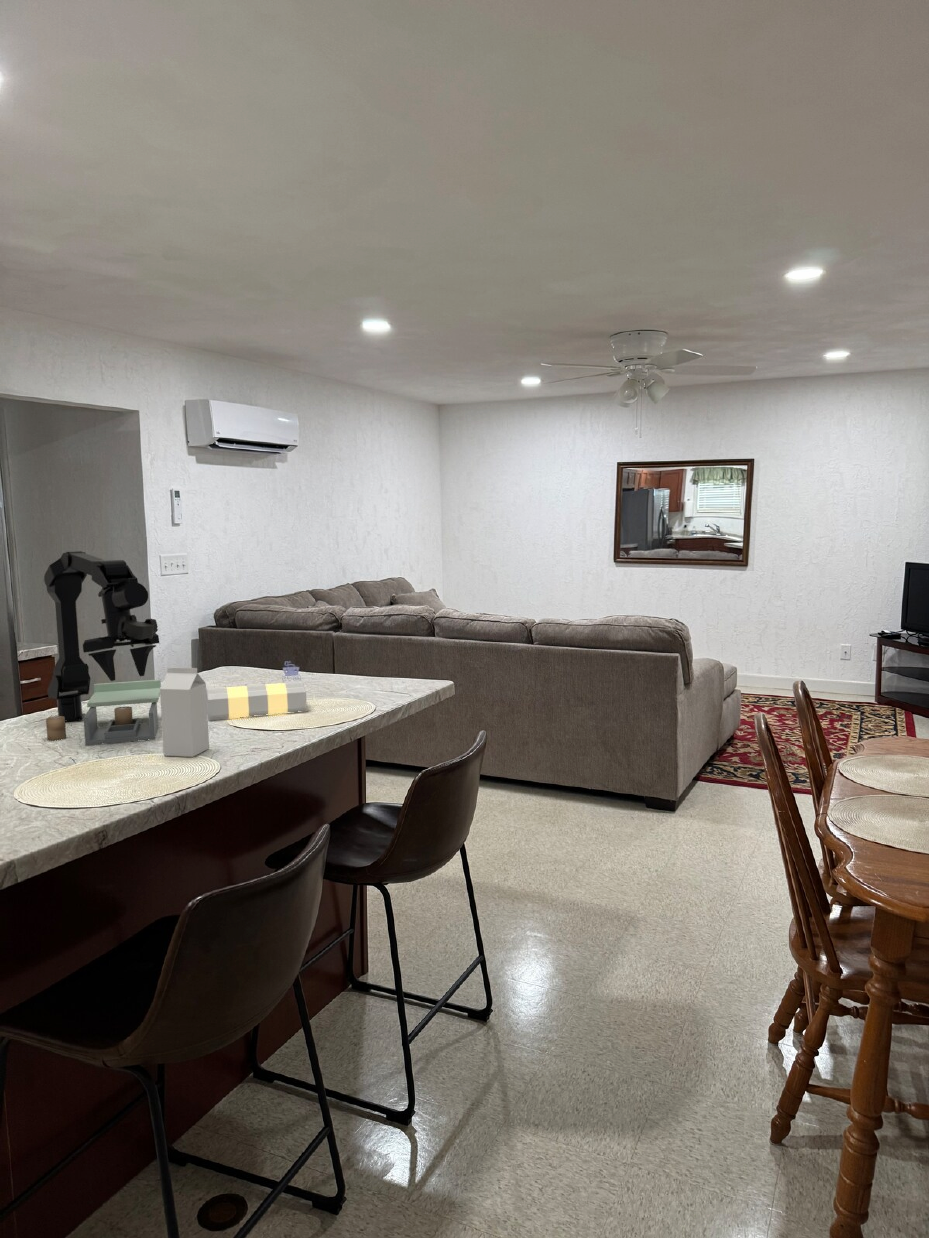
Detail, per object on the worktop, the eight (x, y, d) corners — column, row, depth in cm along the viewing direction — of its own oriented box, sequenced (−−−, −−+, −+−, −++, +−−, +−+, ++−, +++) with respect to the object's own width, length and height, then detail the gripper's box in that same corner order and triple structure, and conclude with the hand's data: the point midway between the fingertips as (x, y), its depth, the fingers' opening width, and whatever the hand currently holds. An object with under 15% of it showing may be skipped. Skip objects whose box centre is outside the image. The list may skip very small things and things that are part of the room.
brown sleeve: (49, 737, 201) (47, 716, 201) (67, 735, 202) (65, 715, 202) (46, 741, 198) (44, 720, 197) (64, 739, 199) (63, 719, 198)
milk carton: (193, 757, 182) (188, 671, 179) (163, 756, 183) (158, 670, 181) (209, 748, 189) (205, 665, 186) (180, 747, 190) (176, 664, 188)
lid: (95, 695, 216) (94, 683, 216) (161, 690, 221) (160, 679, 221) (87, 707, 202) (86, 695, 202) (157, 702, 207) (157, 690, 206)
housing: (93, 731, 206) (91, 705, 206) (158, 726, 211) (156, 700, 210) (85, 745, 193) (83, 717, 192) (154, 739, 197) (153, 712, 197)
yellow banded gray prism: (301, 706, 233) (299, 659, 231) (307, 713, 223) (305, 665, 222) (207, 714, 225) (204, 666, 223) (209, 722, 215) (206, 672, 214)
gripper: (113, 609, 186) (124, 678, 186) (171, 606, 203) (181, 669, 203) (76, 616, 190) (86, 684, 190) (136, 613, 208) (146, 675, 207)
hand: (127, 678), depth 198 cm, fingers open, 9 cm apart
